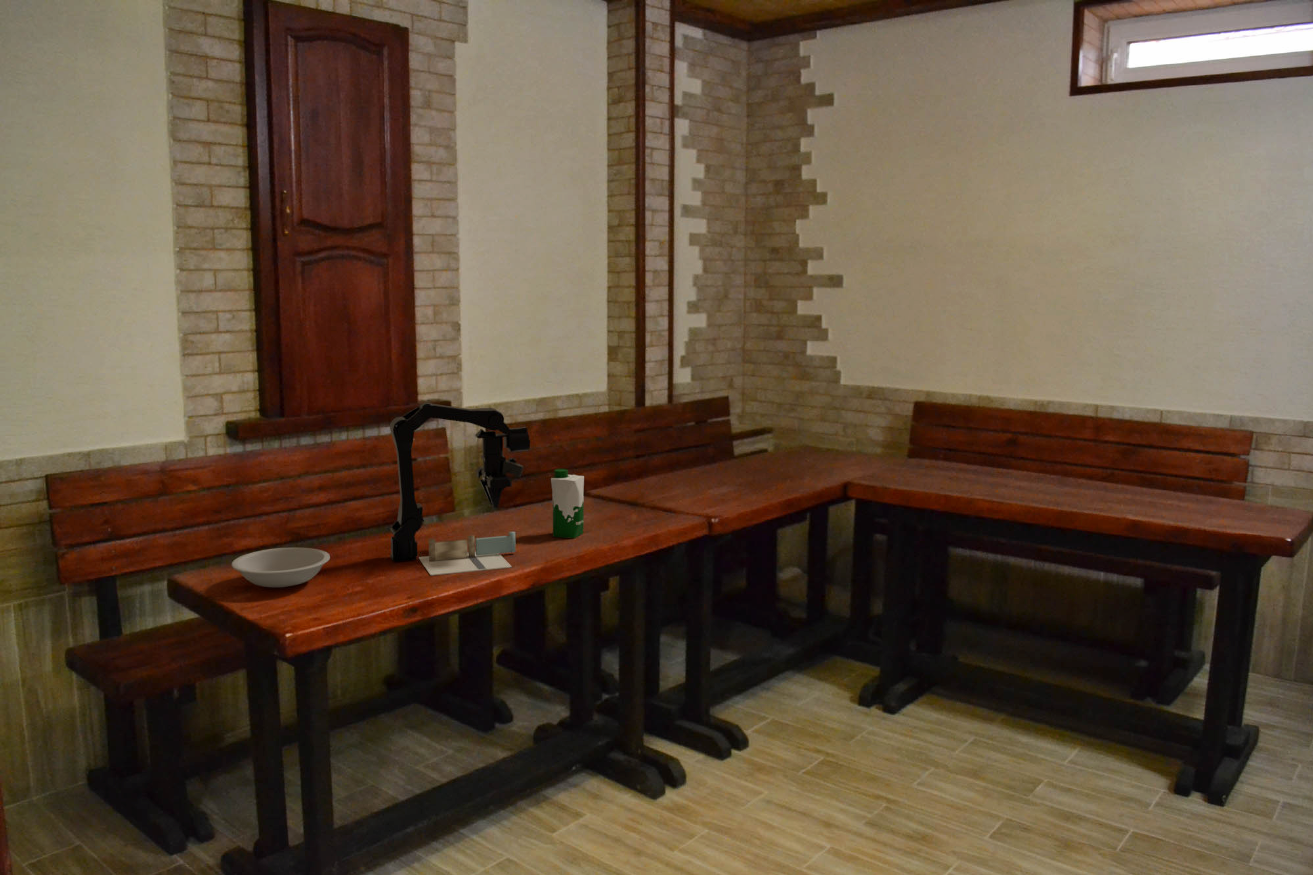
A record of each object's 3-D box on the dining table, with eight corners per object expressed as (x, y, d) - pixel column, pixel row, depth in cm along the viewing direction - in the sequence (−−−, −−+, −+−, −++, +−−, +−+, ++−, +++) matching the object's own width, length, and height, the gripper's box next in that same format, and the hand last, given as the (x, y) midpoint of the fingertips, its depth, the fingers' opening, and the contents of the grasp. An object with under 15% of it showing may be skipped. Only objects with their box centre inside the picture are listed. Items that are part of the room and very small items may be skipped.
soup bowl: (217, 583, 288) (215, 558, 287) (303, 565, 305) (302, 542, 304) (258, 604, 271) (257, 578, 270) (348, 584, 288) (347, 559, 287)
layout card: (430, 575, 295) (430, 574, 295) (418, 558, 312) (418, 556, 312) (511, 567, 303) (511, 566, 303) (495, 550, 320) (495, 549, 320)
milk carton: (560, 530, 344) (559, 467, 341) (587, 532, 341) (587, 468, 338) (548, 537, 336) (548, 472, 333) (576, 539, 333) (575, 474, 330)
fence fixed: (429, 561, 308) (429, 540, 307) (428, 560, 309) (428, 539, 308) (475, 557, 312) (475, 536, 311) (474, 555, 314) (473, 535, 313)
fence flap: (477, 555, 312) (476, 536, 312) (475, 554, 314) (475, 534, 313) (516, 551, 317) (515, 532, 316) (514, 550, 318) (514, 531, 317)
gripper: (529, 456, 311) (530, 510, 313) (512, 445, 328) (513, 497, 330) (489, 459, 307) (491, 514, 309) (475, 448, 324) (476, 500, 326)
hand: (494, 506), depth 319 cm, fingers open, 4 cm apart
